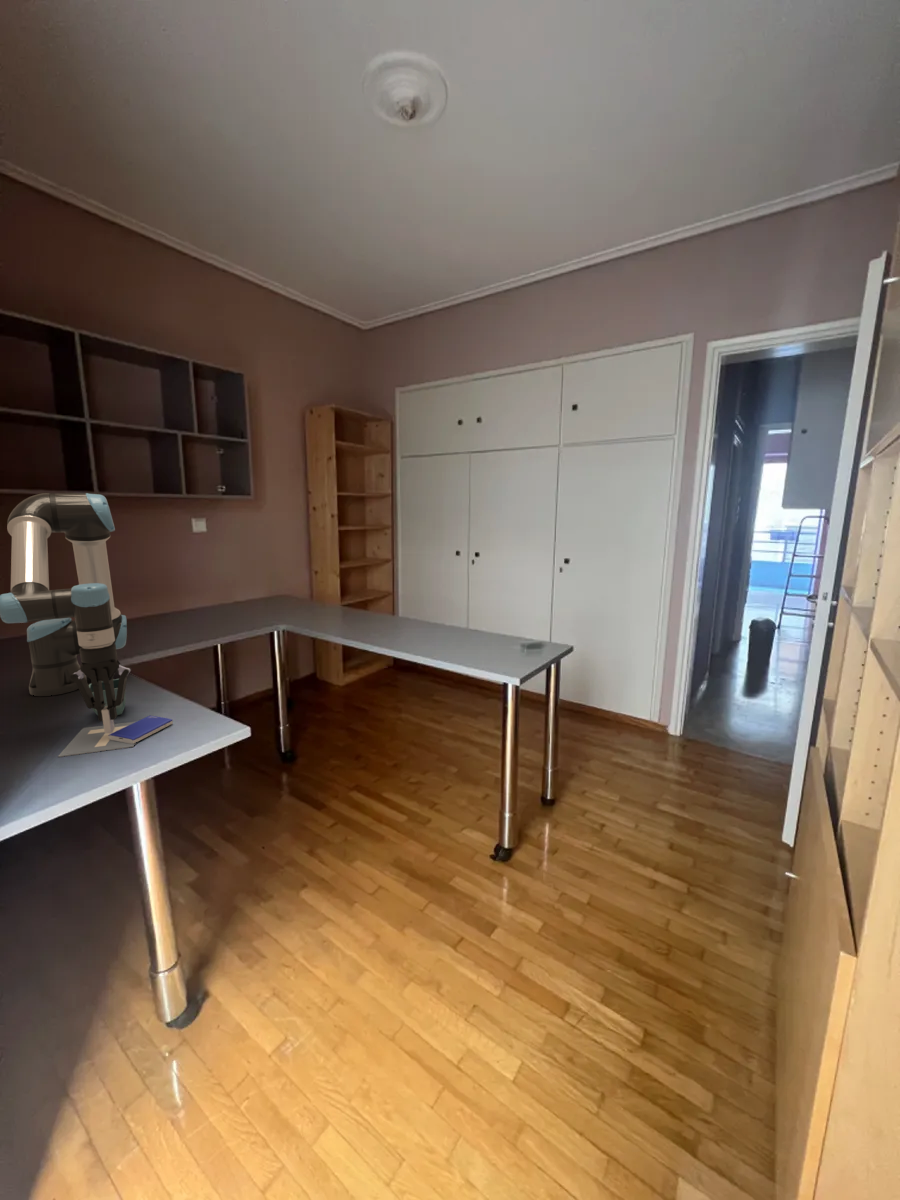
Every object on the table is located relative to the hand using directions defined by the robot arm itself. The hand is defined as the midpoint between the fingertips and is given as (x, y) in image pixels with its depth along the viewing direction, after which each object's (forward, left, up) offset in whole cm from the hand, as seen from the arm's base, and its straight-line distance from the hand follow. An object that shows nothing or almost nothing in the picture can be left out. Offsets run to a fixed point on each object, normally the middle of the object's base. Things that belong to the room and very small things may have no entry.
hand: (109, 731), depth 128 cm
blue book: (-1, +7, -2) cm, 7 cm away
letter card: (0, -1, -2) cm, 2 cm away
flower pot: (-17, -5, -2) cm, 18 cm away
